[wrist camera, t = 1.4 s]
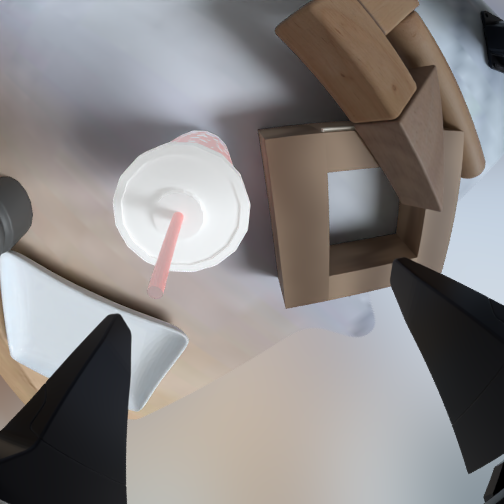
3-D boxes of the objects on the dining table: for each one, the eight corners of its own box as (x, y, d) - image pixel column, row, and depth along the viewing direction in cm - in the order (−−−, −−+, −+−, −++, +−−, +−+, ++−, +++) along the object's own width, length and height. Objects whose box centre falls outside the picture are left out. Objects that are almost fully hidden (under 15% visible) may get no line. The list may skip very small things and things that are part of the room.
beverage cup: (207, 215, 22) (191, 376, 10) (141, 171, 19) (44, 301, 8) (258, 153, 19) (310, 274, 8) (189, 102, 17) (108, 138, 5)
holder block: (433, 118, 18) (464, 129, 15) (420, 249, 25) (441, 272, 22) (257, 127, 18) (264, 136, 15) (278, 277, 26) (285, 308, 22)
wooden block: (307, 2, 8) (454, 249, 17) (390, -37, 9) (490, 155, 17) (269, 31, 11) (416, 237, 20) (356, -20, 12) (459, 151, 20)
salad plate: (195, 314, 28) (193, 340, 25) (141, 396, 37) (139, 415, 34) (14, 228, 21) (-4, 246, 18) (19, 341, 30) (10, 358, 27)
